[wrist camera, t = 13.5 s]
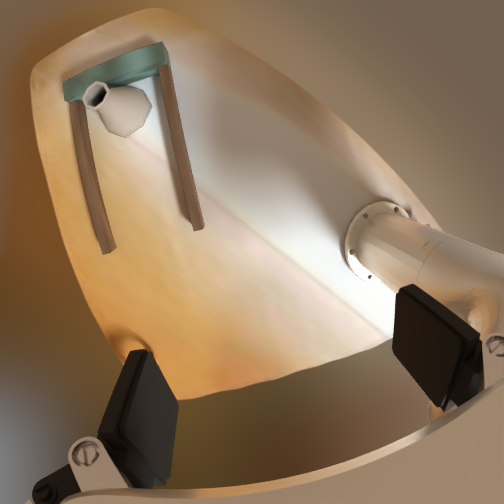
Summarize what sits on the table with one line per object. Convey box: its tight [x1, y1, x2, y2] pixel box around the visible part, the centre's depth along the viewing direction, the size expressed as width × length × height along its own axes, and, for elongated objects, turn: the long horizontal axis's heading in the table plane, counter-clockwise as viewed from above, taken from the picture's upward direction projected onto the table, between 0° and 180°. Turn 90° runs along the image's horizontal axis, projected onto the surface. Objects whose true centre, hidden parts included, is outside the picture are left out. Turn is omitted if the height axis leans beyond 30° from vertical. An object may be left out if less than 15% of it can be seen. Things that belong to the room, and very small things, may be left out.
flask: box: [82, 81, 152, 138], centre depth 26 cm, size 7×7×10 cm
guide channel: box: [63, 42, 204, 255], centre depth 30 cm, size 14×25×4 cm, turn 12°
